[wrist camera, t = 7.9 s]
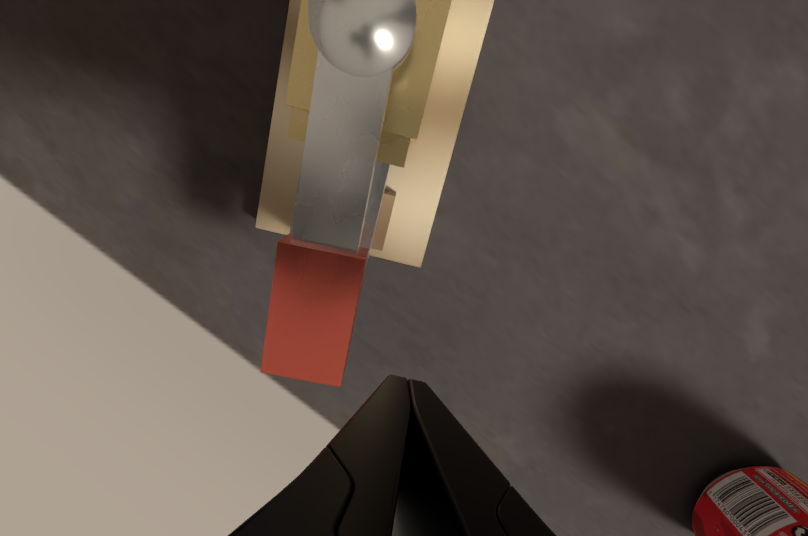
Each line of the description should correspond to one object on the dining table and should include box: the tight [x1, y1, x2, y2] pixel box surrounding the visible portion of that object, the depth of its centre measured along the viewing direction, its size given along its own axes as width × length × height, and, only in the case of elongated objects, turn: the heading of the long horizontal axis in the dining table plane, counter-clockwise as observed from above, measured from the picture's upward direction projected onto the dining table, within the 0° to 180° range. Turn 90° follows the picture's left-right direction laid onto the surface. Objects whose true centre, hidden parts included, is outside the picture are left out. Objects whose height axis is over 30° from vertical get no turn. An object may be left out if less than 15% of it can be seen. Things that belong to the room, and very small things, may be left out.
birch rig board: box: [255, 0, 494, 267], centre depth 17 cm, size 16×8×3 cm, turn 166°
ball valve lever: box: [261, 0, 416, 387], centre depth 12 cm, size 12×3×1 cm, turn 168°
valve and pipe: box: [285, 0, 452, 273], centre depth 14 cm, size 16×4×5 cm, turn 166°
